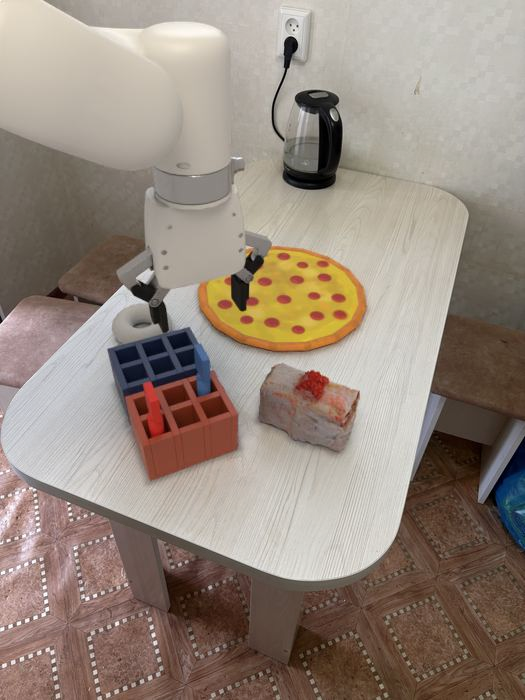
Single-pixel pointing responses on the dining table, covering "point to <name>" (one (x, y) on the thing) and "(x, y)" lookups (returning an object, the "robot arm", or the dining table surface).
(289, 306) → the pizza
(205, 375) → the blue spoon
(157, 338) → the blue caddy
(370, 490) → the dining table surface
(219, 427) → the red caddy
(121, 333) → the donut
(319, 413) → the food item
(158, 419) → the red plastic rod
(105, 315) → the dining table surface
